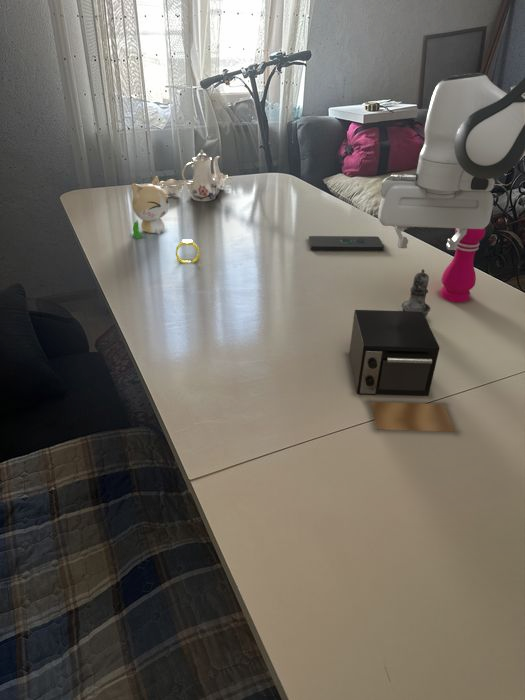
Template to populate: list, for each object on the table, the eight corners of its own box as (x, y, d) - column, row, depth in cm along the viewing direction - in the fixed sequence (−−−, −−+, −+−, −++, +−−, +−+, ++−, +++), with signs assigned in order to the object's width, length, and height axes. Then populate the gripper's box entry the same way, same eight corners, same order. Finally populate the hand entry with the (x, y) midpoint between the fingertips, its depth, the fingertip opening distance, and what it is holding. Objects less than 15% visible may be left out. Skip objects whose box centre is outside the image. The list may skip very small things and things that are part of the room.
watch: (176, 265, 131) (174, 243, 128) (176, 261, 133) (174, 239, 130) (200, 264, 132) (198, 242, 129) (199, 260, 134) (198, 238, 131)
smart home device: (384, 246, 139) (311, 246, 139) (383, 252, 140) (310, 252, 140) (378, 235, 146) (308, 235, 146) (377, 241, 147) (308, 241, 147)
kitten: (148, 243, 144) (141, 189, 136) (122, 236, 148) (114, 183, 140) (182, 228, 155) (178, 177, 147) (156, 221, 159) (151, 172, 151)
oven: (412, 358, 96) (422, 311, 91) (430, 404, 85) (442, 353, 79) (348, 356, 97) (354, 309, 91) (357, 401, 85) (365, 351, 80)
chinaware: (219, 189, 196) (214, 142, 188) (246, 194, 184) (242, 145, 176) (154, 202, 180) (147, 152, 173) (179, 209, 169) (172, 156, 161)
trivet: (443, 406, 84) (443, 404, 84) (454, 433, 79) (455, 431, 79) (370, 404, 85) (370, 401, 84) (376, 431, 79) (376, 428, 79)
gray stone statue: (392, 318, 109) (401, 266, 103) (414, 312, 111) (424, 261, 105) (411, 331, 105) (422, 277, 98) (433, 324, 107) (445, 272, 100)
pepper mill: (437, 301, 116) (456, 214, 105) (438, 288, 122) (457, 204, 111) (470, 306, 114) (493, 219, 103) (470, 293, 120) (492, 208, 109)
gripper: (386, 177, 89) (375, 252, 97) (504, 181, 89) (483, 256, 96) (380, 168, 94) (370, 240, 102) (492, 172, 94) (473, 244, 102)
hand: (426, 248), depth 99 cm, fingers open, 8 cm apart
